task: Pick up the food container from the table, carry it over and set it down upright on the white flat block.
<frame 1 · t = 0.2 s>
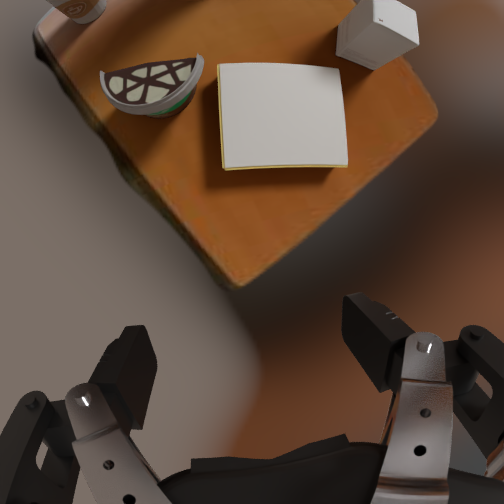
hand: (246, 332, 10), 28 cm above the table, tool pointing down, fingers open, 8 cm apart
food container: (163, 106, 32), on the table
white flat block: (279, 117, 34), on the table
coffee cup: (91, 11, 25), on the table
supplement box: (356, 47, 32), on the table
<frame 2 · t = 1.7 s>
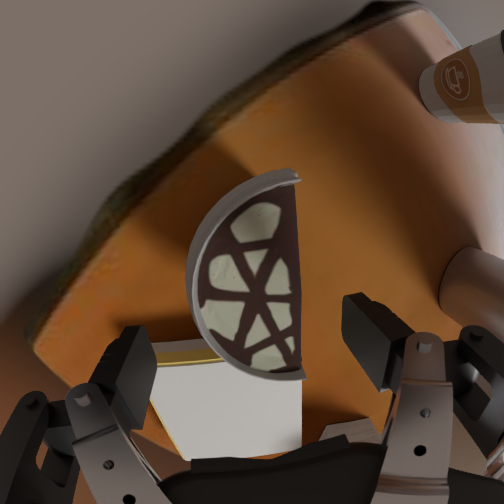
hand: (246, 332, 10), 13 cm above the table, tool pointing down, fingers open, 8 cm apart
food container: (236, 249, 23), on the table
white flat block: (230, 394, 27), on the table
coffee cup: (436, 95, 20), on the table
supplement box: (340, 434, 32), on the table
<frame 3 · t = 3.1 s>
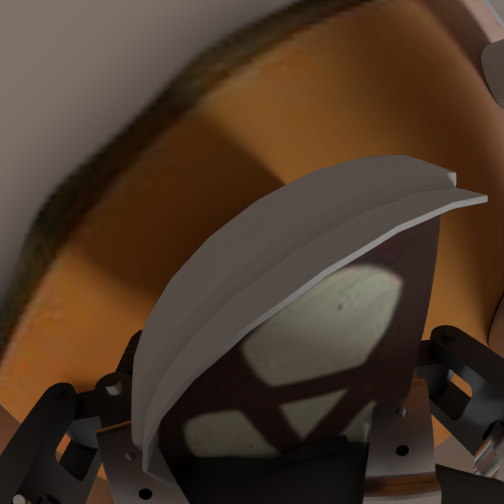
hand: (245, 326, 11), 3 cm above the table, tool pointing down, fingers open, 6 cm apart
food container: (240, 296, 14), on the table, touching gripper
coffee cup: (497, 80, 11), on the table
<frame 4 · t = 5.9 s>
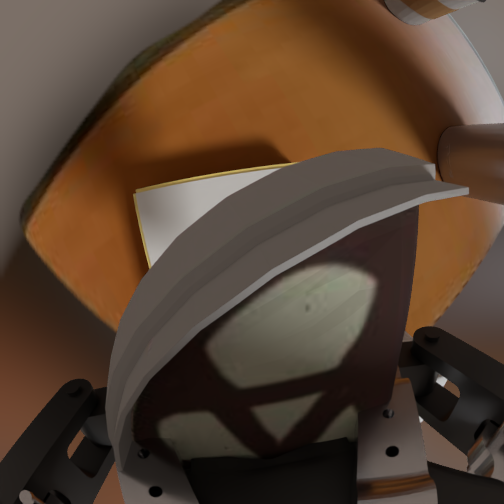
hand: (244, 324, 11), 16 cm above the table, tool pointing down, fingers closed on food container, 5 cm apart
food container: (228, 296, 13), point 13 cm above the table, touching gripper
white flat block: (235, 259, 26), on the table
coffee cup: (401, 8, 20), on the table
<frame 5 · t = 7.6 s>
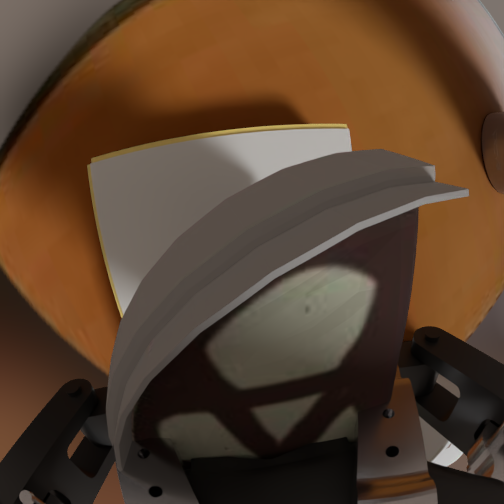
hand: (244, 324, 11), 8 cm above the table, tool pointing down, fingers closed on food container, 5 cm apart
food container: (228, 297, 13), point 5 cm above the table, touching gripper
white flat block: (234, 264, 19), on the table
supplement box: (388, 368, 24), on the table
when the fingers open (8 cm above the table, at t = 8.4 s): food container drops 1 cm, resting on white flat block.
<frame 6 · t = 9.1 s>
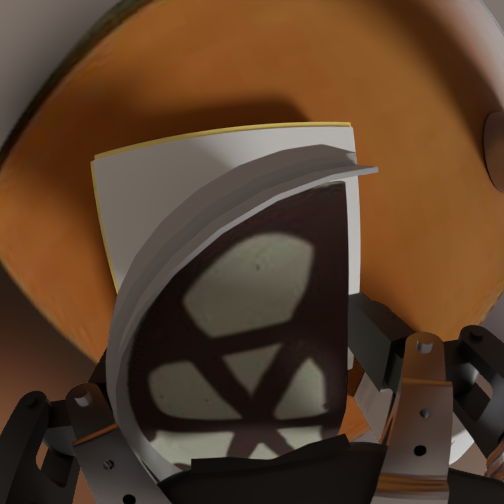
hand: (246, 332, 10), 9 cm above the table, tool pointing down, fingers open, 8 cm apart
food container: (213, 286, 15), point 4 cm above the table, touching white flat block, gripper
white flat block: (237, 262, 19), on the table
supplement box: (390, 367, 24), on the table
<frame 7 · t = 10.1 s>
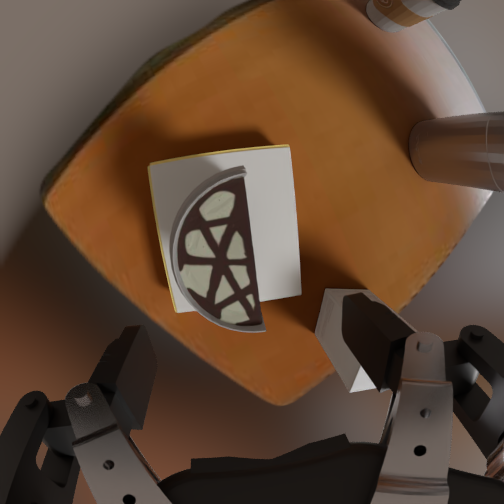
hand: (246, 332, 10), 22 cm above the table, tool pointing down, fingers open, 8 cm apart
food container: (214, 233, 27), point 4 cm above the table, touching white flat block
white flat block: (228, 226, 31), on the table
coffee cup: (382, 17, 25), on the table
supplement box: (341, 311, 37), on the table
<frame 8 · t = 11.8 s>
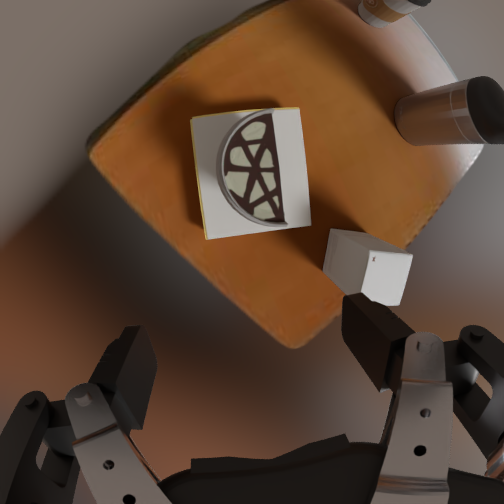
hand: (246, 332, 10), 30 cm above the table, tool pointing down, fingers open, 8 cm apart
food container: (241, 171, 34), point 4 cm above the table, touching white flat block
white flat block: (250, 171, 38), on the table
coffee cup: (371, 16, 31), on the table
supplement box: (345, 251, 43), on the table
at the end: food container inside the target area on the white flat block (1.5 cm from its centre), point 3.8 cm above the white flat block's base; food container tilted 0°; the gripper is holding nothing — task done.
